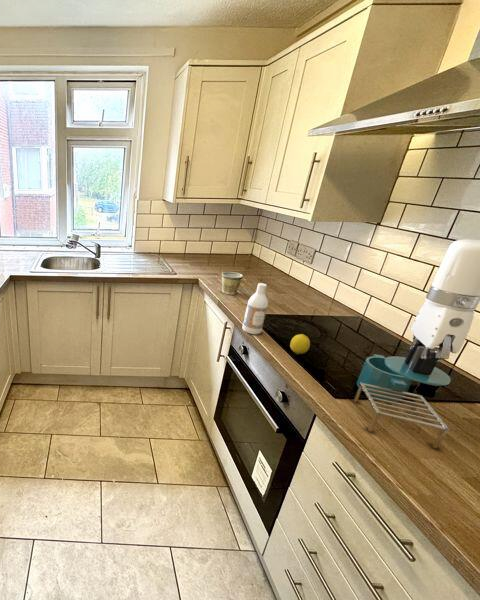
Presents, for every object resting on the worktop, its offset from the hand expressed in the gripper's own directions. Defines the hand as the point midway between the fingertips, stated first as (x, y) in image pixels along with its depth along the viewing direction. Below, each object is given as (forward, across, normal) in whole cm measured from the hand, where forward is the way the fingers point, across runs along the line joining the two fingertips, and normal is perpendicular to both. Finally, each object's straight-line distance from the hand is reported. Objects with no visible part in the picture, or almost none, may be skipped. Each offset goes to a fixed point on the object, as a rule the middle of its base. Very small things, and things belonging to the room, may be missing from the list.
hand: (416, 368), depth 75 cm
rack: (+17, 0, 0) cm, 17 cm away
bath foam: (+17, +41, +31) cm, 54 cm away
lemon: (+17, +28, +17) cm, 37 cm away
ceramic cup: (+17, +84, +39) cm, 94 cm away
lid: (+1, 0, 0) cm, 1 cm away
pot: (+17, +15, -2) cm, 22 cm away
